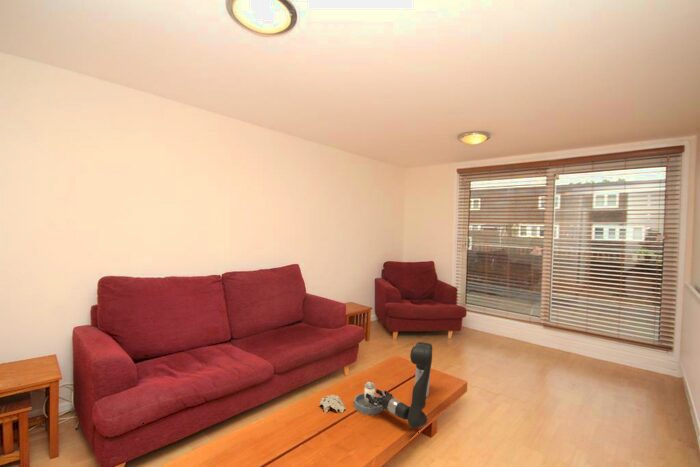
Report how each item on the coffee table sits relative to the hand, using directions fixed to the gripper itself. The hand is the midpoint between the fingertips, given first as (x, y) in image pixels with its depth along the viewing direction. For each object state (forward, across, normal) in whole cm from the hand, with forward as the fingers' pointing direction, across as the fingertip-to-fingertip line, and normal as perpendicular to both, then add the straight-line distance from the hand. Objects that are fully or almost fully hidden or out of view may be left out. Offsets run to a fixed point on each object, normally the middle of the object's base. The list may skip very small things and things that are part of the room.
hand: (371, 392), depth 192 cm
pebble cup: (+2, 0, +8) cm, 8 cm away
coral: (+14, +18, +9) cm, 25 cm away
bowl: (+2, 0, +9) cm, 9 cm away
